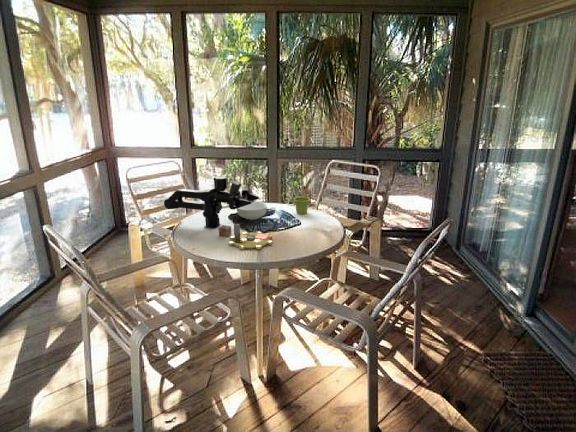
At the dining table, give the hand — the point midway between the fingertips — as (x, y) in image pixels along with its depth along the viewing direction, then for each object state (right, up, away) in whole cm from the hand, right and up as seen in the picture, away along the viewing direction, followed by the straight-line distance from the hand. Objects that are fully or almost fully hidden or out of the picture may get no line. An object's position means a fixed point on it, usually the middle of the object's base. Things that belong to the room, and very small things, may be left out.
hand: (255, 200), depth 194 cm
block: (-15, -17, 0) cm, 23 cm away
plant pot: (+24, -6, +34) cm, 43 cm away
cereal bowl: (-4, -9, +27) cm, 29 cm away
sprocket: (-1, -20, -9) cm, 22 cm away
